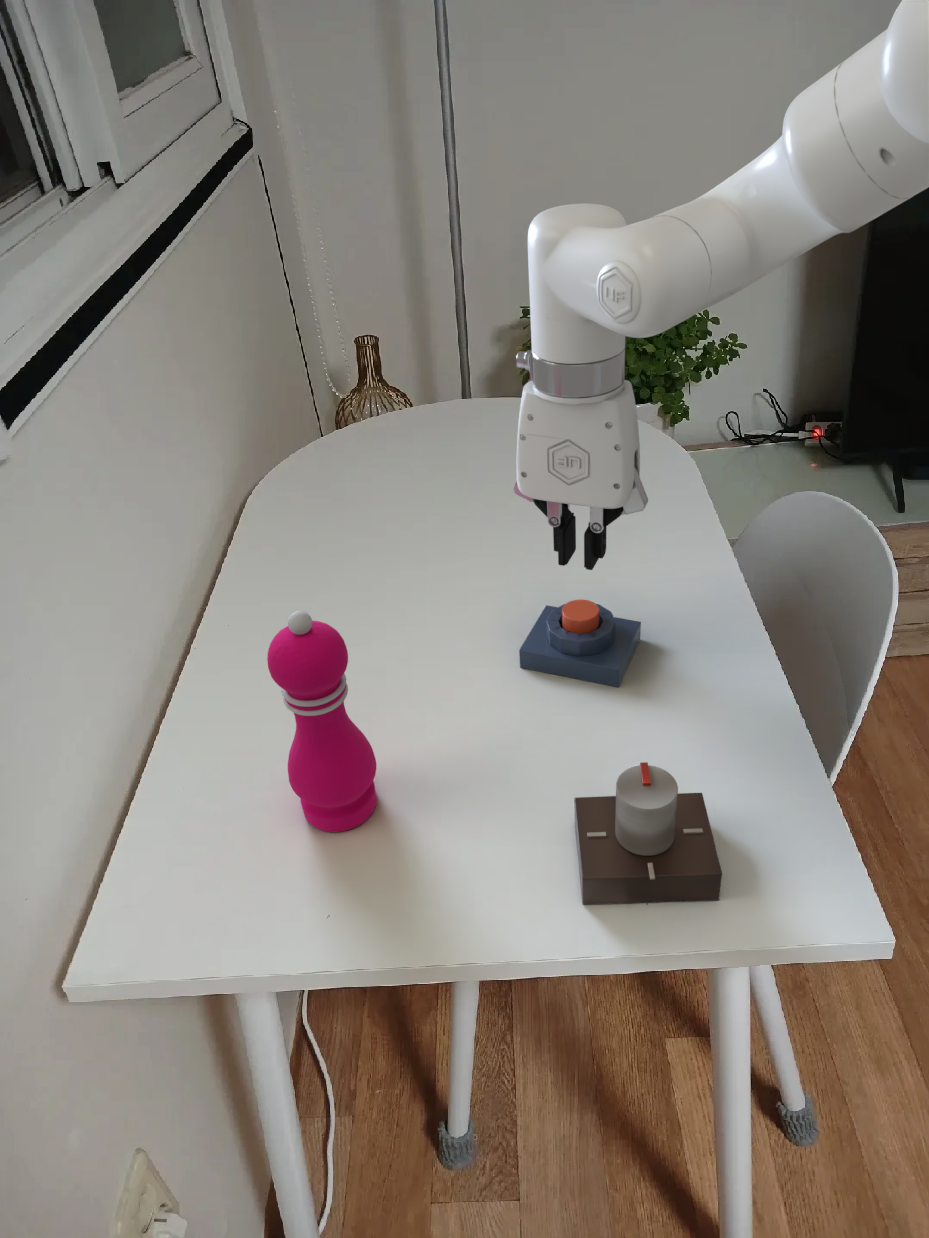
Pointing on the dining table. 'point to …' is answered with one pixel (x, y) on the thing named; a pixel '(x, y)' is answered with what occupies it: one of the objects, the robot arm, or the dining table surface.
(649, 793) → the dial knob
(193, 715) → the dining table surface
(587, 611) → the button
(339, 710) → the pepper mill
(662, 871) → the dial panel
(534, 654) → the button box
